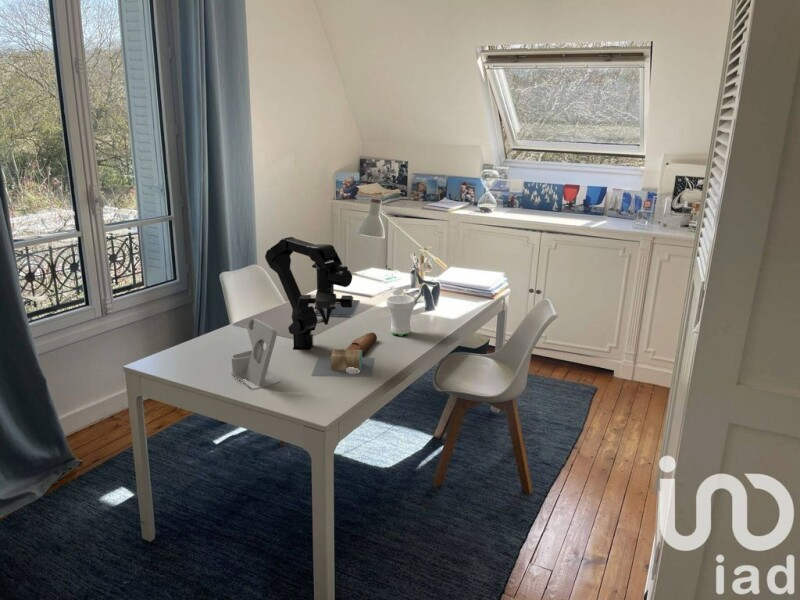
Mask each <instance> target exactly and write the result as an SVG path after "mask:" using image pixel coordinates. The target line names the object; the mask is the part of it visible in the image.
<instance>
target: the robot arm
mask: <svg viewBox="0 0 800 600" xmlns="http://www.w3.org/2000/svg"><path fill="white" fill-rule="evenodd" d="M293 253H297V254H300V255H303V256H307V257H309V259H310V261H312V262H314V263H313V264H312V265H311V267H312V268H313V269H315V270H316V292H315V297H312V295H311V294H302V293H301V291H300V288H299V285H298V284H297V281H296V279H295V277H294V274H293V272H292V269H291V263H292V259H291V256H292V254H293ZM264 258H265V261H266V263H267V265H268V266H269V268H270V269H271V270H272V271H274V273H276V274H277V275H278V278H279V281H280V283H281V285H282V287H283V290H284V292H285V294H286V297H287V299H288V302H289V303H290V306H291V308H292V310H291V311H292V312H291V320H292V322H291V324H290V325H289V326H288V332H289V334H291V335H292V337H293V339H292V340H293V348H292V350H297V351H299V350H300V351H310V350H312V347H313V346H314V334H313V333H312V331H315V330H316V327H317V322H318V320H319V319H318V317H317V316H318V315H317V313H316V312H315V310H317V311H318V312H319V313H320V315H321V318H322V320H323V323H324V325H325V326H328V324H329V320H330V317H331V314H332V311H333V310H336V309H337V306H338V305H340V306H341V307H342V308H343V309H344V308H347V309H348V308H349V309H350V308H353V305H354V296H353V295H341V297H339V298H337V294H336V293H335V289H334V287H335V285H336V286H340V287H343V288H347V287H349V286H350V285H351V283H352V281H353V275H352V273H351V271H350V270H348V266H346V265H343V262H342V260H341V258H340V257H339V255H338V252H337V251H336V249H335V247H334V246H333V244H326V243H322V244H315V243H311V242H308V241H304V240H301V239H299V238H295V237H293V236H288V237H284V238H281V239H280V240H279V242H277V243H276V244H275V245H273V246H271V247H270V248H269V249H267V250H266V252H265V255H264ZM311 304H314V307H313V306H312V305H311ZM309 305H311V306H309Z"/></svg>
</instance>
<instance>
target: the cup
mask: <svg viewBox="0 0 800 600" xmlns="http://www.w3.org/2000/svg"><path fill="white" fill-rule="evenodd" d="M385 300H386V302H385V303H386V306H387V308H388V310H389V314H390V315H389V316H390V321H391V322H390V323H391V326H390V332H391V334H392V336H396V335H398V336H399V337H400V336H401V337H403V336H404V335H405V336H409V335H410V332H411V325H410V324H411V316H412V312H413V309H414V307H416V299H415V297H413V296H410V295H405V294H404V295H403V294H401V295H399V294H397V295H392V296H391V295H390V296H388V297H387V298H386V299H385Z"/></svg>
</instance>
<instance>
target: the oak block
mask: <svg viewBox="0 0 800 600" xmlns="http://www.w3.org/2000/svg"><path fill="white" fill-rule="evenodd" d="M330 357H331V370H346V368H348V367H354V368H358V369H359V370H361V368H362V358H363V357H362V350H346V349H332V351H331V356H330Z"/></svg>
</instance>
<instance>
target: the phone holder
mask: <svg viewBox="0 0 800 600" xmlns="http://www.w3.org/2000/svg"><path fill="white" fill-rule="evenodd" d="M246 328H247V333H248V337H249V341H250V344H251V348H252V349H251V350H248V351H243V352H239V353H236V354H233V355H232V356H231V368H232V371H231V372H230V373H231V376H232V377H234V376H235V377H236V378H235V377H234V378H235V379H237V380H238V379H239V380H240V383H242V382H243V383H244V384H243V383H242V384H243V385H244V386H246V385H247V386H248V387H247V386H246V387H247V388H248V389H250V388H251V389H253V390H252V391H254V390H258V389H262V388H265V387H268V386H272V385H275V384H279V383H280V382H281V379H279V378H278V377H277V376H276V375H274V374H273V373H271V372H269V371H268V369H269V365H270V363H271V362H270V361H271V358H272V354H273V350H274V347H275V343H276V340H277V337H278V336H277V335H278V332H277V330H276V328H274V327H272V326H270V325H268V324H267V323H265V322H263V321H262V320H259V319H257V318H250V319H249V320H248V323H247V327H246ZM264 344H265V345H266V347H265V349H264ZM243 379H246V380H247V381H248V382H250V383H252V384H253V385H255V388H254V387H253V386H251V385H250V384H249V383H247V382H246V381H245V380H243ZM239 380H238V381H239ZM256 386H257V387H256ZM251 389H250V390H251Z"/></svg>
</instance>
